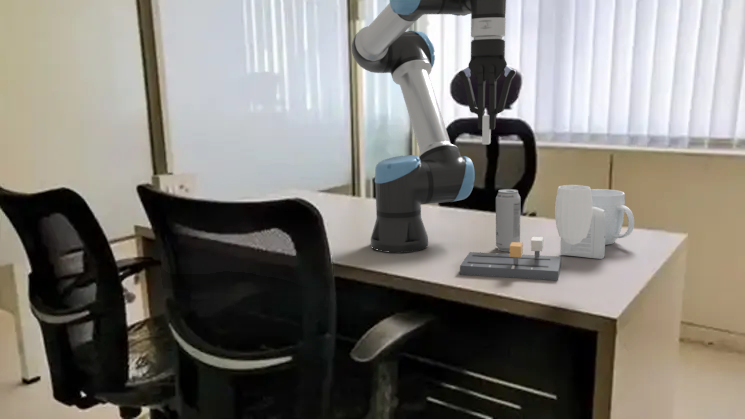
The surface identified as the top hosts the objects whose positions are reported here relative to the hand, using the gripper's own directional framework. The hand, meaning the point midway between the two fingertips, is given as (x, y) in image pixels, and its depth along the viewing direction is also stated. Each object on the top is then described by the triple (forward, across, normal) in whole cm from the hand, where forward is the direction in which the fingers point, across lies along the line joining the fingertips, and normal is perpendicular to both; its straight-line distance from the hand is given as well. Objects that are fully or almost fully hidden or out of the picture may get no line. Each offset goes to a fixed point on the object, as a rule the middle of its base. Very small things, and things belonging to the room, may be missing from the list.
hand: (486, 143), depth 151 cm
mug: (+28, +27, +21) cm, 44 cm away
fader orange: (+25, +9, -11) cm, 29 cm away
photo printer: (+28, +22, +7) cm, 36 cm away
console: (+27, +7, -8) cm, 29 cm away
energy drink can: (+28, +4, +10) cm, 30 cm away
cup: (+27, +21, -18) cm, 39 cm away
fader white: (+25, +13, -5) cm, 28 cm away
